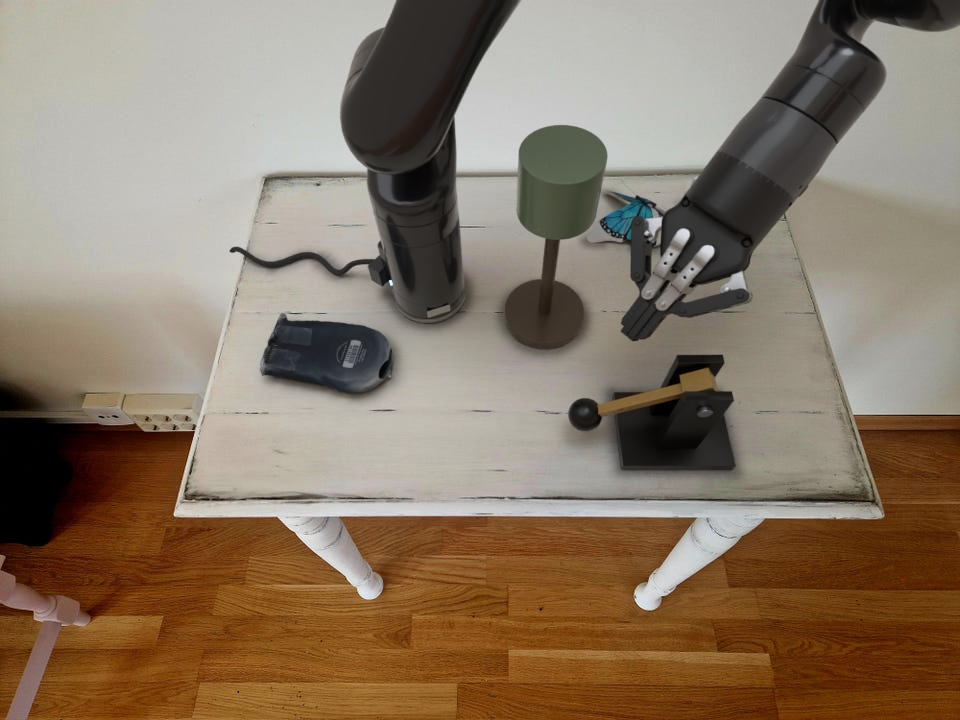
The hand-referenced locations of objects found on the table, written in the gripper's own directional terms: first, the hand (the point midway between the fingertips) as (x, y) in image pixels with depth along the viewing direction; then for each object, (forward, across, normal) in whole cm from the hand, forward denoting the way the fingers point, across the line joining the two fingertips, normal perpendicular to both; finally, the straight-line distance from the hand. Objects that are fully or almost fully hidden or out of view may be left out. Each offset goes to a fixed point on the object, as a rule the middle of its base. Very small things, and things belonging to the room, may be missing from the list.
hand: (629, 336), depth 54 cm
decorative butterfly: (-6, -17, +28) cm, 33 cm away
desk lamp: (+8, -14, +13) cm, 21 cm away
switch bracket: (+8, +7, +13) cm, 17 cm away
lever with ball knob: (+6, +4, +6) cm, 10 cm away
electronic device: (+25, -26, -3) cm, 37 cm away
